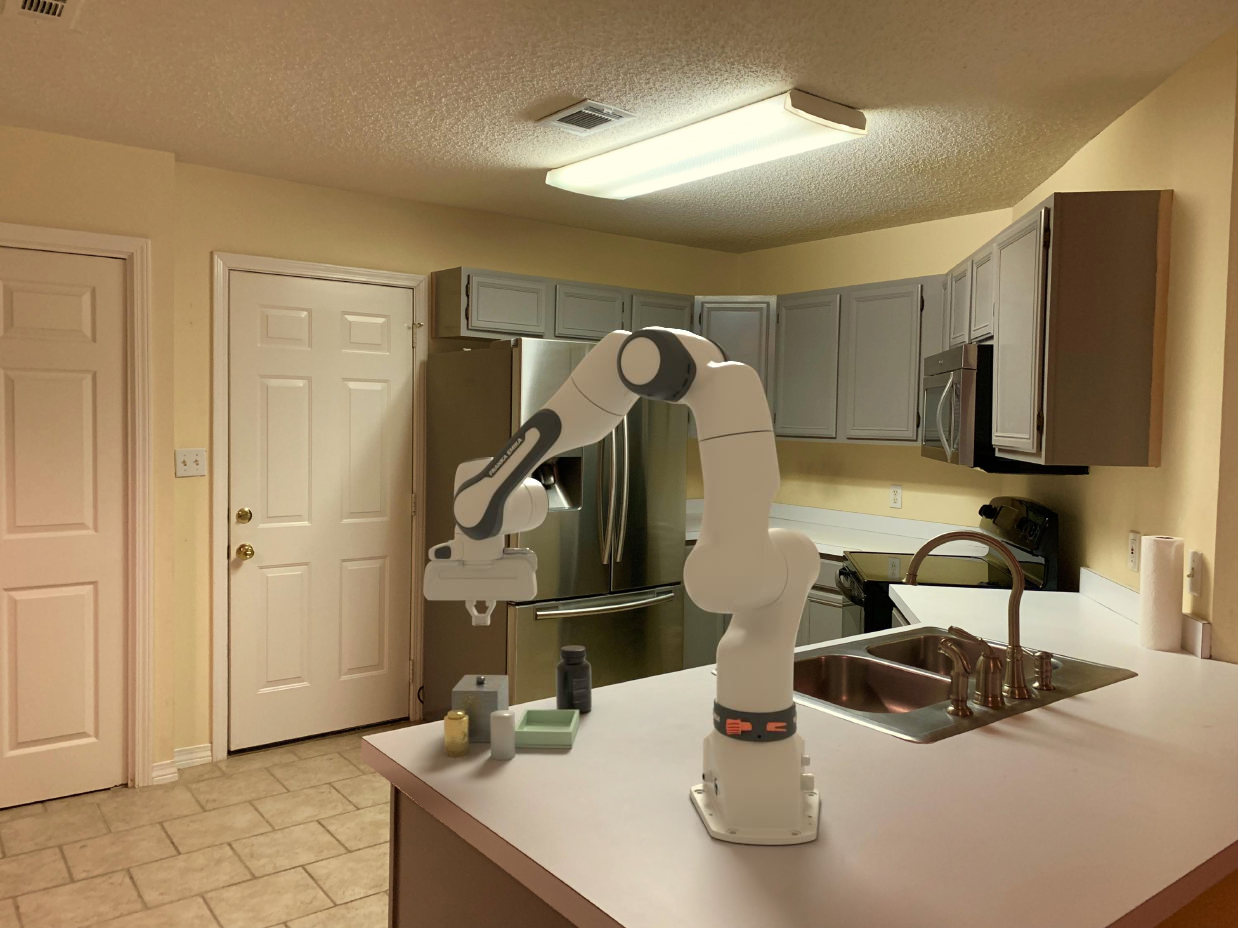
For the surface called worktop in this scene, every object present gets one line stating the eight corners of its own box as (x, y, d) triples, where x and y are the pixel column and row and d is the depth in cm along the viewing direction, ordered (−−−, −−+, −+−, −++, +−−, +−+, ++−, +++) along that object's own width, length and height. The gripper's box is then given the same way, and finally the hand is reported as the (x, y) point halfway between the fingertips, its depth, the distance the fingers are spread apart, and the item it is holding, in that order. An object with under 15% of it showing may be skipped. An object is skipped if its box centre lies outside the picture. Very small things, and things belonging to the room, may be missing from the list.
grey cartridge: (512, 760, 147) (512, 717, 147) (488, 759, 147) (488, 717, 147) (517, 751, 151) (516, 710, 151) (493, 751, 151) (492, 709, 151)
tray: (571, 748, 152) (571, 731, 152) (513, 746, 153) (513, 730, 153) (579, 724, 164) (579, 709, 164) (525, 723, 165) (524, 708, 165)
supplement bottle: (593, 704, 177) (593, 643, 176) (589, 715, 170) (588, 652, 169) (559, 703, 177) (558, 643, 177) (553, 714, 170) (552, 651, 170)
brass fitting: (465, 757, 148) (465, 716, 148) (441, 756, 149) (441, 716, 148) (471, 748, 152) (470, 708, 152) (447, 748, 153) (447, 708, 152)
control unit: (498, 742, 155) (497, 685, 155) (452, 741, 156) (451, 684, 155) (509, 722, 166) (508, 669, 165) (466, 722, 166) (465, 668, 166)
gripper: (540, 545, 164) (541, 621, 164) (430, 545, 166) (431, 620, 166) (534, 550, 158) (535, 628, 158) (419, 550, 159) (421, 628, 160)
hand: (481, 624), depth 162 cm, fingers closed
